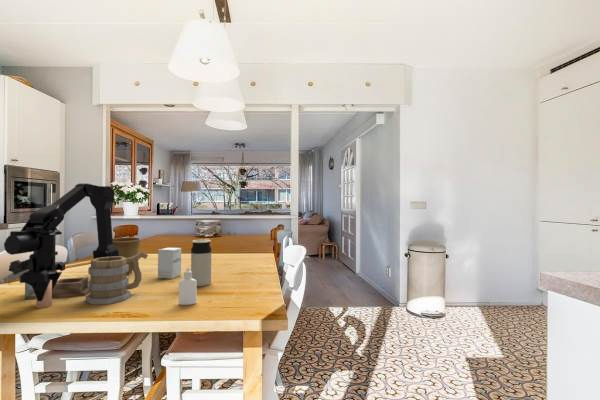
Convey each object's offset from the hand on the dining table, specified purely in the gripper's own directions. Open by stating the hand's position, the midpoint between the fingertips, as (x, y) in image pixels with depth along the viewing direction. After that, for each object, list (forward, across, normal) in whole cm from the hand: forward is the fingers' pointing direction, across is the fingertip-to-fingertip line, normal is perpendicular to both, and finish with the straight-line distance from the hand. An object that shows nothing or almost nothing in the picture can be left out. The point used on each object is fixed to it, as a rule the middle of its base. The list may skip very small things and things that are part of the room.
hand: (44, 298), depth 108 cm
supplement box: (+3, -33, +36) cm, 49 cm away
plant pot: (+3, -45, +15) cm, 48 cm away
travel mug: (+3, -15, +49) cm, 51 cm away
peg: (+3, 0, 0) cm, 3 cm away
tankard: (+3, -5, +21) cm, 22 cm away
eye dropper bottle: (+3, +10, +44) cm, 45 cm away
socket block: (+3, -15, 0) cm, 15 cm away
